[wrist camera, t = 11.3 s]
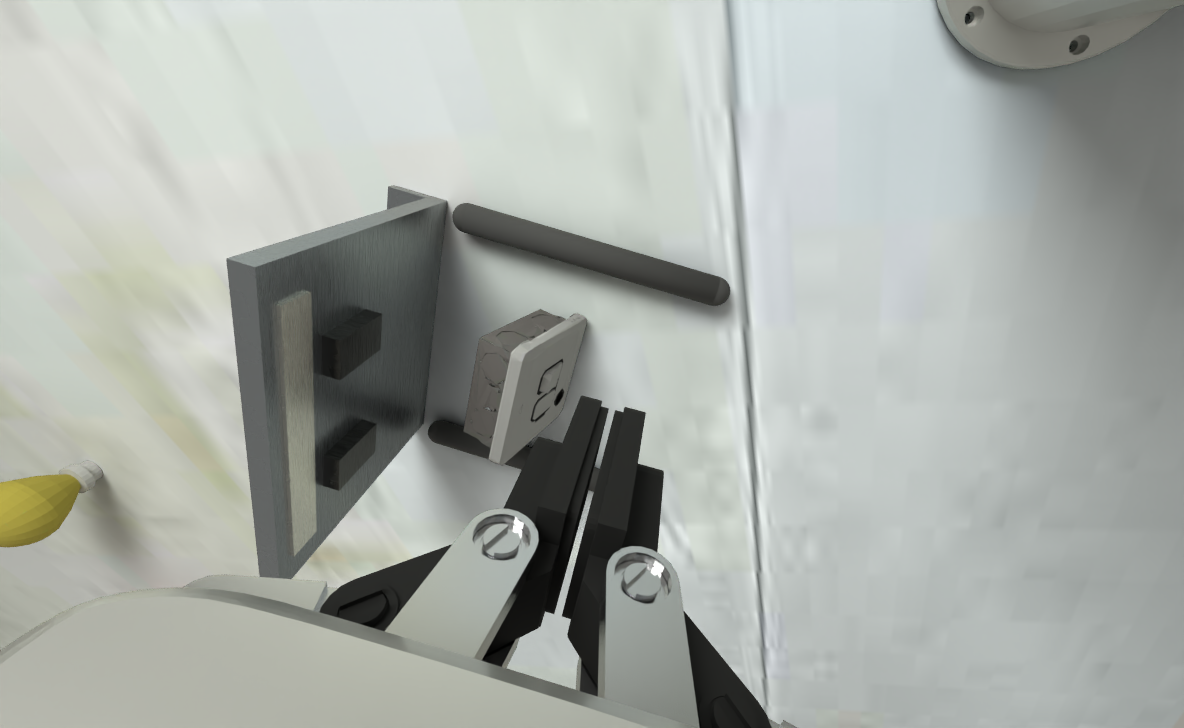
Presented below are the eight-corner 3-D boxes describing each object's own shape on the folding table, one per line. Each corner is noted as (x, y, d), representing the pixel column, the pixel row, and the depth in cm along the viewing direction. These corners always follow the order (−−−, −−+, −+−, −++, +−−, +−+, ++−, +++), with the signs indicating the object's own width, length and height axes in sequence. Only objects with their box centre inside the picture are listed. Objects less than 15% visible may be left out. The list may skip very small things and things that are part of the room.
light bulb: (99, 444, 53) (-17, 509, 44) (132, 493, 56) (28, 563, 47) (52, 444, 54) (-71, 508, 45) (86, 492, 57) (-24, 561, 48)
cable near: (733, 277, 34) (735, 286, 33) (722, 303, 35) (724, 313, 34) (461, 197, 35) (449, 201, 33) (457, 225, 36) (446, 230, 34)
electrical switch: (562, 412, 42) (521, 479, 34) (506, 391, 42) (452, 452, 34) (590, 313, 37) (551, 362, 29) (528, 291, 38) (472, 333, 30)
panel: (460, 204, 35) (279, 274, 19) (433, 426, 45) (296, 597, 29) (393, 185, 35) (159, 238, 20) (381, 410, 45) (215, 571, 29)
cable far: (651, 480, 43) (650, 495, 42) (644, 496, 44) (643, 512, 42) (435, 413, 44) (424, 425, 42) (433, 431, 45) (422, 444, 43)
